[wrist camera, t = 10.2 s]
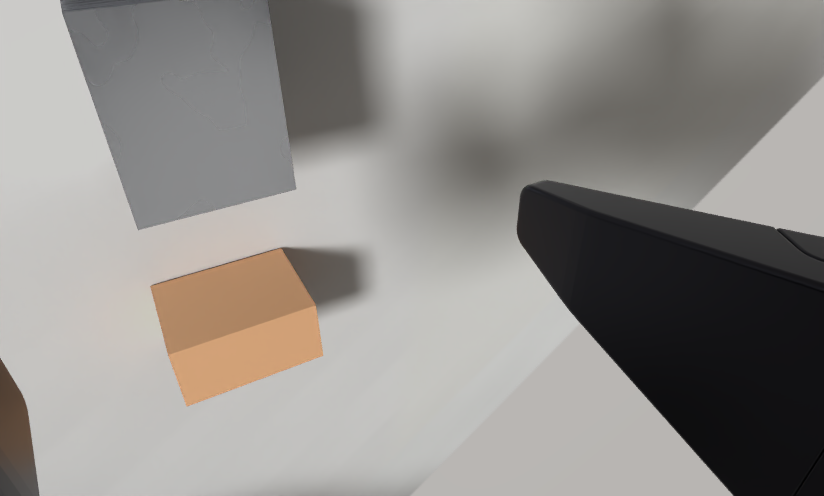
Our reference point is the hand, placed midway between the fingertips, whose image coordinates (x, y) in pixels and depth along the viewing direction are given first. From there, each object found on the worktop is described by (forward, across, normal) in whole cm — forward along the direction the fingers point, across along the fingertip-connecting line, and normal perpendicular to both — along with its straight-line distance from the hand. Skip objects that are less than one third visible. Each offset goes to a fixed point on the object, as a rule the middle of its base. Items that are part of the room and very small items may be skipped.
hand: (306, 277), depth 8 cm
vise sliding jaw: (+13, 0, +10) cm, 16 cm away
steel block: (+13, 0, 0) cm, 13 cm away
